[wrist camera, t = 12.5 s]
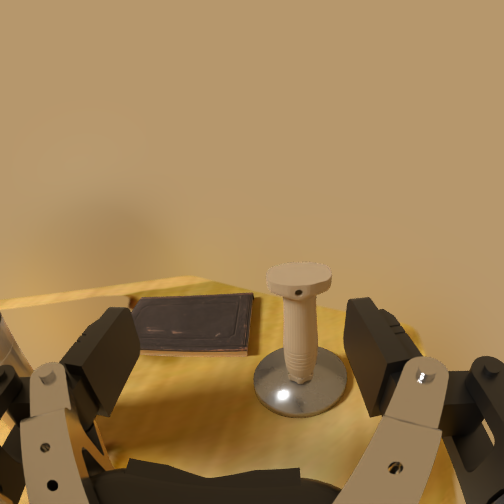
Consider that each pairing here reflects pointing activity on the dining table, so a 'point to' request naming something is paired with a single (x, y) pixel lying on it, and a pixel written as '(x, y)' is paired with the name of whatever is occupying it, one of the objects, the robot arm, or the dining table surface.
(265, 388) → the disk
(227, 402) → the dining table surface
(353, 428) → the dining table surface
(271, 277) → the handle
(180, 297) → the hardcover book
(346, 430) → the dining table surface
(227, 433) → the dining table surface
